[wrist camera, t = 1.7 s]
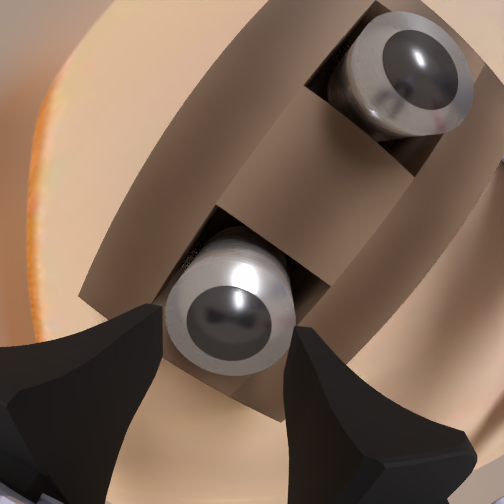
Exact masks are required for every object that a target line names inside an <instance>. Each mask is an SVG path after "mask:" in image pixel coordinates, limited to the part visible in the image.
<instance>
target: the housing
mask: <svg viewBox="0 0 504 504" xmlns="http://www.w3.org/2000/svg"><path fill="white" fill-rule="evenodd" d="M396 11H400V12H409V13H413V14H417V15H420V16H422V17H424V18H427V19H429V20H430V21H432V22H434V23H435V24H437V25H438V26H440V27H441V28H442V29H443V30H444V31H446V32H447V33H448V34H449V35H450V36H451V37H452V39H453V40H454V41H455V42H456V43H457V45H458V46H459V48H460V49H461V51H462V52H463V54H464V56H465V58H466V60H467V62H468V65H469V67H470V71H471V74H472V79H473V88H474V92H473V101H472V106H471V109H470V111H469V113H468V115H467V117H466V118H465V120H464V121H463V122H462V123H461V124H460V125H459V126H458V127H456V128H455V129H453V130H451V131H449V132H446V133H442V134H434V135H425V136H417V137H409V138H401V139H395V140H394V141H393V143H392V144H391V146H390V147H389V148H388V150H387V151H386V150H385V149H384V148H382V147H381V146H380V145H379V144H378V143H377V142H376V141H374V140H373V139H372V138H371V137H370V136H369V135H367V134H366V133H365V132H364V131H363V130H361V129H360V128H359V127H358V126H357V125H355V124H354V123H353V122H352V121H350V120H349V119H348V118H347V117H345V116H344V115H343V114H341V113H340V112H339V111H338V110H336V109H335V108H334V107H332V106H331V105H330V104H328V103H327V102H326V101H324V100H323V99H322V98H320V97H319V96H317V95H316V94H315V93H313V92H312V91H310V90H309V87H310V86H311V85H312V84H313V82H314V81H315V80H316V79H317V77H318V76H319V75H320V74H321V72H322V71H323V70H324V69H325V67H326V66H327V65H328V64H329V63H330V61H331V60H332V59H333V58H334V56H335V55H336V54H337V53H338V52H339V50H340V49H341V48H342V47H343V46H344V44H345V43H346V42H348V43H349V44H351V45H352V44H353V43H354V42H355V40H356V39H357V38H358V36H359V35H360V34H361V32H362V31H363V30H364V28H365V27H366V26H367V25H368V24H369V23H370V22H371V21H372V20H373V19H374V18H376V17H377V16H380V15H382V14H384V13H388V12H396ZM503 156H504V85H503V84H502V82H501V81H500V80H499V78H498V77H497V76H496V75H495V74H494V72H493V71H492V70H491V69H490V68H489V66H488V65H487V64H486V63H485V62H484V61H483V60H482V58H481V57H480V56H479V55H478V54H477V53H476V52H475V51H474V50H473V49H472V48H471V46H470V45H469V44H468V43H467V42H466V41H465V40H464V39H463V38H462V37H461V36H460V35H459V34H458V33H457V32H456V31H455V30H454V29H453V28H451V27H450V26H449V25H448V24H447V23H446V22H445V21H444V20H443V19H442V18H441V17H439V16H438V15H437V14H436V13H435V12H434V11H433V10H431V9H430V8H429V7H428V6H427V5H425V4H424V3H423V2H422V1H421V0H269V1H268V2H267V3H266V4H265V5H264V6H263V7H262V8H261V9H260V10H259V11H258V12H257V13H256V14H255V16H254V17H253V18H252V19H251V20H250V21H249V22H248V23H247V24H246V25H245V27H244V28H243V29H242V30H241V31H240V32H239V33H238V35H237V36H236V37H235V38H234V39H233V40H232V42H231V43H230V44H229V45H228V46H227V48H226V49H225V50H224V51H223V52H222V54H221V55H220V56H219V57H218V59H217V60H216V61H215V62H214V64H213V65H212V66H211V67H210V69H209V70H208V71H207V73H206V74H205V75H204V77H203V78H202V79H201V80H200V82H199V83H198V84H197V86H196V87H195V89H194V90H193V91H192V93H191V94H190V95H189V97H188V98H187V100H186V101H185V102H184V104H183V105H182V107H181V108H180V110H179V111H178V112H177V114H176V115H175V117H174V118H173V120H172V121H171V123H170V124H169V126H168V127H167V129H166V130H165V132H164V133H163V135H162V136H161V138H160V140H159V141H158V143H157V144H156V146H155V147H154V149H153V151H152V152H151V154H150V155H149V157H148V159H147V160H146V162H145V164H144V165H143V167H142V169H141V170H140V172H139V174H138V176H137V177H136V179H135V181H134V183H133V184H132V186H131V188H130V190H129V191H128V193H127V195H126V197H125V199H124V201H123V202H122V204H121V206H120V208H119V210H118V212H117V214H116V216H115V217H114V219H113V221H112V223H111V225H110V227H109V229H108V231H107V233H106V235H105V237H104V239H103V241H102V244H101V246H100V248H99V250H98V252H97V254H96V256H95V258H94V261H93V263H92V265H91V267H90V270H89V272H88V274H87V276H86V279H85V281H84V283H83V286H82V288H81V290H80V293H79V295H78V297H80V298H81V299H82V300H83V301H85V302H86V303H87V304H88V305H90V306H91V307H92V308H94V309H95V310H96V311H97V312H99V313H100V314H101V315H103V316H104V317H105V318H107V319H108V320H110V319H113V318H115V317H117V316H119V315H121V314H123V313H125V312H127V311H129V310H132V309H134V308H136V307H138V306H140V305H143V304H146V303H148V304H153V305H159V306H163V356H162V357H163V358H164V359H166V360H168V361H169V362H171V363H172V364H174V365H175V366H177V367H179V368H180V369H182V370H184V371H185V372H187V373H189V374H190V375H192V376H194V377H195V378H197V379H199V380H200V381H202V382H204V383H206V384H207V385H209V386H211V387H213V388H214V389H216V390H218V391H220V392H222V393H223V394H225V395H227V396H229V397H231V398H233V399H235V400H236V401H238V402H240V403H242V404H244V405H246V406H248V407H250V408H252V409H254V410H256V411H258V412H260V413H262V414H264V415H266V416H268V417H270V418H272V419H274V420H277V421H279V422H282V421H284V420H285V410H284V401H283V375H284V368H285V364H286V360H287V356H288V351H289V348H288V350H287V351H286V353H285V354H284V355H283V356H282V357H281V358H280V359H279V360H278V361H277V362H276V363H274V364H273V365H271V366H270V367H268V368H266V369H264V370H262V371H259V372H257V373H253V374H249V375H242V376H228V375H221V374H216V373H213V372H210V371H207V370H205V369H202V368H200V367H199V366H197V365H195V364H194V363H192V362H191V361H189V360H188V359H187V358H186V357H185V356H183V354H182V353H181V352H180V351H179V350H178V349H177V347H176V346H175V345H174V343H173V341H172V340H171V338H170V336H169V333H168V330H167V327H166V321H165V307H166V302H167V299H168V296H169V294H170V292H171V290H172V288H173V287H174V285H175V284H176V283H177V281H178V280H179V278H180V277H181V276H182V274H183V273H184V272H185V271H184V270H182V269H181V268H180V267H181V266H182V264H183V263H184V261H185V260H186V258H187V257H188V255H189V254H190V252H191V251H192V249H193V248H194V246H195V245H196V243H197V242H198V240H199V239H200V237H201V236H202V234H203V233H204V231H205V230H206V228H207V227H208V225H209V224H210V222H211V221H212V220H213V218H214V217H215V215H216V214H217V212H218V211H219V209H220V208H222V209H223V210H225V211H226V212H228V213H229V214H231V215H232V216H233V217H235V218H236V219H238V220H239V221H241V222H242V223H243V224H245V225H246V226H248V227H249V228H251V229H252V230H253V231H255V232H256V233H258V234H259V235H260V236H262V237H263V238H265V239H266V240H267V241H269V242H270V243H272V244H273V245H274V246H276V247H277V248H279V249H280V250H281V251H283V252H284V253H286V254H287V255H288V256H290V257H291V258H293V259H294V260H295V261H297V262H298V263H300V264H301V265H300V266H299V267H298V268H297V269H296V271H295V272H294V273H293V274H292V276H291V277H290V278H289V279H290V285H291V291H292V297H293V303H294V310H295V316H296V326H302V327H312V328H313V329H314V330H315V331H316V333H317V334H318V335H319V336H320V337H321V338H322V340H323V341H324V342H325V343H326V344H327V345H328V346H329V348H330V349H331V350H332V351H333V352H334V353H335V354H336V355H337V356H338V357H339V358H340V359H341V360H342V361H343V362H344V363H345V364H347V363H348V362H349V361H350V360H351V359H352V358H353V357H354V356H355V355H356V354H357V353H358V352H359V351H360V350H361V349H362V348H363V347H364V346H365V345H366V344H367V343H368V342H369V341H370V339H371V338H372V337H373V336H374V335H375V334H376V333H377V332H378V331H379V330H380V329H381V328H382V327H383V325H384V324H385V323H386V322H387V321H388V320H389V319H390V318H391V316H392V315H393V314H394V313H395V312H396V311H397V310H398V308H399V307H400V306H401V305H402V304H403V303H404V301H405V300H406V299H407V298H408V297H409V295H410V294H411V293H412V292H413V291H414V289H415V288H416V287H417V286H418V284H419V283H420V282H421V281H422V279H423V278H424V277H425V276H426V274H427V273H428V272H429V270H430V269H431V268H432V267H433V265H434V264H435V263H436V261H437V260H438V259H439V257H440V256H441V254H442V253H443V252H444V250H445V249H446V248H447V246H448V245H449V243H450V242H451V241H452V239H453V238H454V236H455V235H456V233H457V232H458V230H459V229H460V228H461V226H462V225H463V223H464V222H465V220H466V219H467V217H468V215H469V214H470V212H471V211H472V209H473V208H474V206H475V204H476V203H477V201H478V200H479V198H480V196H481V195H482V193H483V191H484V190H485V188H486V186H487V185H488V183H489V181H490V179H491V178H492V176H493V174H494V172H495V171H496V169H497V167H498V165H499V163H500V161H501V160H502V158H503Z"/></svg>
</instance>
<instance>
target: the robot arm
mask: <svg viewBox="0 0 504 504" xmlns="http://www.w3.org/2000/svg"><path fill="white" fill-rule="evenodd" d="M502 161H503V163H504V156H503V158H502ZM162 356H163V306H159V305H153V304H148V303H146V304H143V305H140V306H138V307H136V308H134V309H132V310H129V311H127V312H125V313H123V314H121V315H119V316H117V317H115V318H113V319H110V320H108V321H106V322H104V323H101V324H99V325H96V326H94V327H92V328H89V329H87V330H84V331H82V332H79V333H76V334H73V335H70V336H66V337H63V338H59V339H55V340H51V341H46V342H41V343H36V344H30V345H23V346H12V347H0V504H105V500H106V495H107V491H108V488H109V484H110V480H111V477H112V473H113V470H114V467H115V463H116V460H117V457H118V454H119V451H120V448H121V445H122V443H123V440H124V437H125V434H126V432H127V429H128V427H129V425H130V423H131V421H132V419H133V417H134V415H135V413H136V411H137V409H138V407H139V406H140V404H141V402H142V400H143V398H144V396H145V394H146V392H147V391H148V389H149V387H150V385H151V383H152V381H153V379H154V377H155V375H156V373H157V370H158V367H159V364H160V361H161V359H162ZM283 401H284V410H285V419H286V428H287V437H288V446H289V485H288V504H449V502H448V500H447V498H448V497H449V496H450V495H451V494H452V493H453V492H454V491H455V490H456V489H457V488H458V487H459V486H460V485H461V484H462V483H463V482H464V481H465V480H466V478H467V477H468V476H469V475H470V474H471V473H472V471H473V469H474V467H475V465H476V463H477V454H476V452H475V450H474V448H473V447H472V445H471V443H470V441H469V439H468V438H467V436H466V434H465V432H464V431H461V430H457V429H454V428H451V427H448V426H445V425H442V424H439V423H436V422H433V421H431V420H429V419H426V418H424V417H422V416H420V415H417V414H415V413H413V412H411V411H409V410H407V409H405V408H403V407H402V406H400V405H398V404H397V403H395V402H393V401H392V400H390V399H388V398H387V397H385V396H384V395H382V394H381V393H379V392H378V391H376V390H375V389H374V388H372V387H371V386H370V385H368V384H367V383H366V382H364V381H363V380H362V379H361V378H360V377H359V376H357V375H356V374H355V373H354V372H353V371H352V370H351V369H350V368H349V367H348V366H347V365H346V364H345V363H344V362H343V361H342V360H341V359H340V358H339V357H338V356H337V355H336V354H335V353H334V352H333V351H332V350H331V349H330V348H329V346H328V345H327V344H326V343H325V342H324V341H323V340H322V338H321V337H320V336H319V335H318V334H317V333H316V331H315V330H314V329H313V328H312V327H302V326H294V329H293V333H292V338H291V342H290V347H289V351H288V356H287V360H286V364H285V368H284V375H283ZM492 504H504V496H502V497H501V498H499V499H497V500H496V501H494V502H493V503H492Z"/></svg>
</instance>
